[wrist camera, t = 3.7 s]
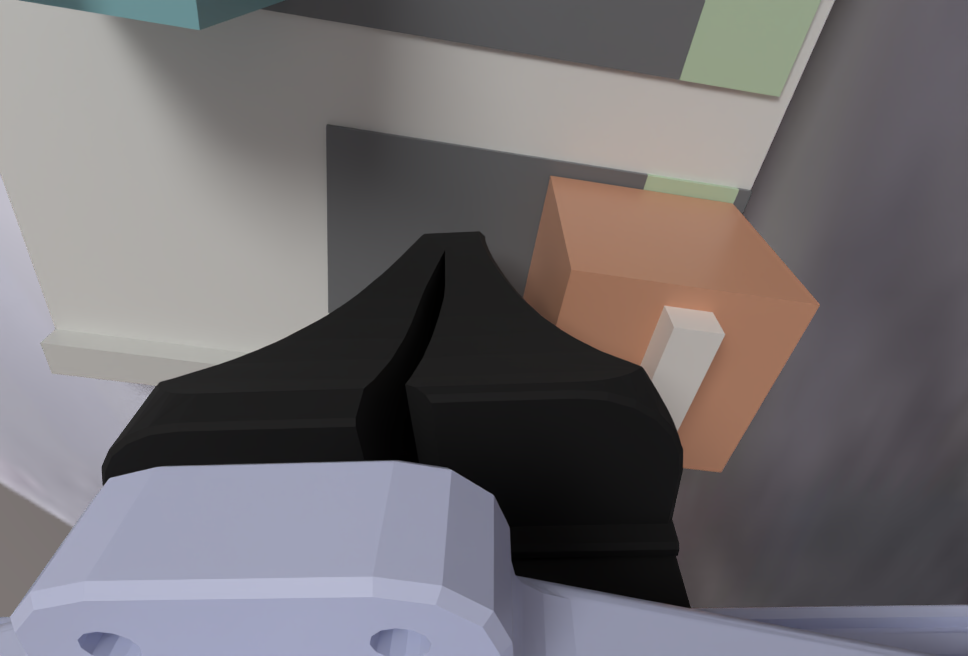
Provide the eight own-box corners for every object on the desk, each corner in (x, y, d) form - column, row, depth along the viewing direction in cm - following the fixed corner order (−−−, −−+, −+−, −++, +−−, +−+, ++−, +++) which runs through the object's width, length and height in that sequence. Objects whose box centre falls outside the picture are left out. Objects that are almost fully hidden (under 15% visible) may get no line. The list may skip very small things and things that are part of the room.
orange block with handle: (732, 203, 12) (838, 327, 8) (669, 349, 14) (731, 497, 11) (550, 175, 12) (575, 290, 8) (515, 328, 14) (523, 473, 10)
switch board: (931, -314, 9) (1020, -362, 7) (636, 400, 17) (649, 444, 16) (-188, -572, 8) (-353, -690, 6) (92, 332, 16) (52, 373, 15)
